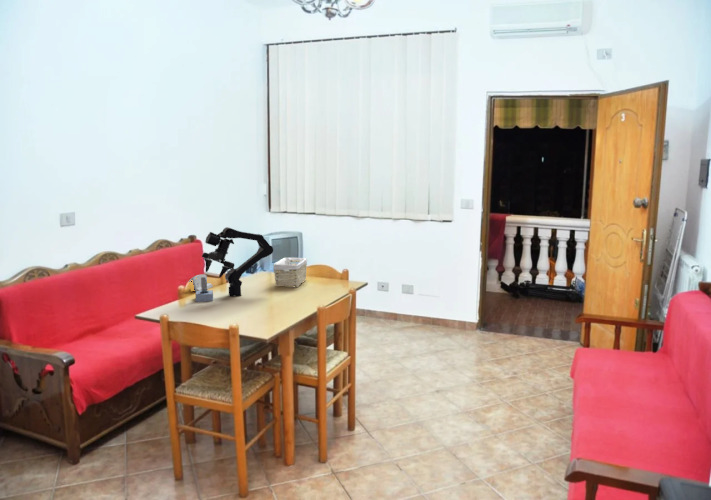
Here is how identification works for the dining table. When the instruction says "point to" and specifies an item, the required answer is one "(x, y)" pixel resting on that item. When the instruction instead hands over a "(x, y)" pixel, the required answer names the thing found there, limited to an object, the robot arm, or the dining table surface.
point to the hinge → (199, 282)
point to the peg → (204, 284)
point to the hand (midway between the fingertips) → (212, 274)
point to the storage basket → (290, 272)
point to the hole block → (204, 296)
